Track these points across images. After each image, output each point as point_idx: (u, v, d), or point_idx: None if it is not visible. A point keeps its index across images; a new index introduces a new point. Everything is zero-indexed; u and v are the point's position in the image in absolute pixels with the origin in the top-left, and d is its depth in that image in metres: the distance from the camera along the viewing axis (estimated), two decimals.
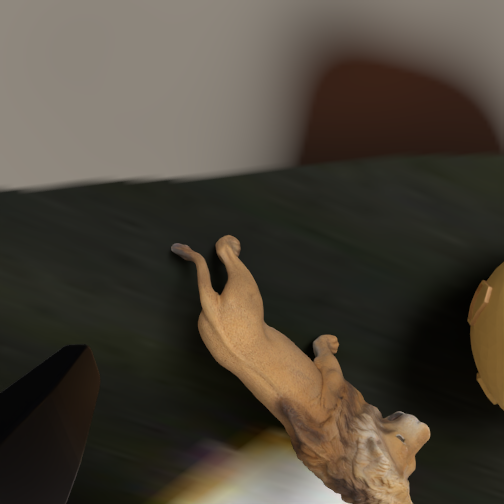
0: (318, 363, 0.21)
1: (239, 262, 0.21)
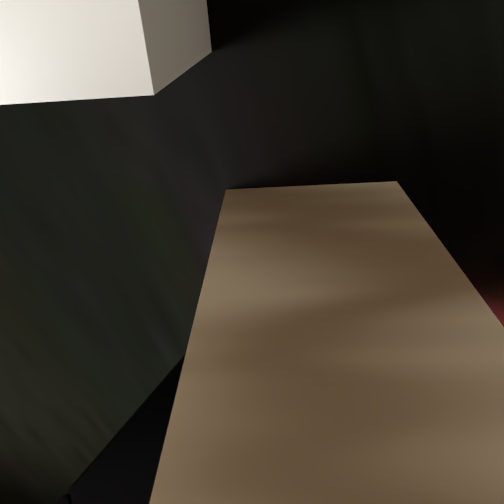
0: None
1: None
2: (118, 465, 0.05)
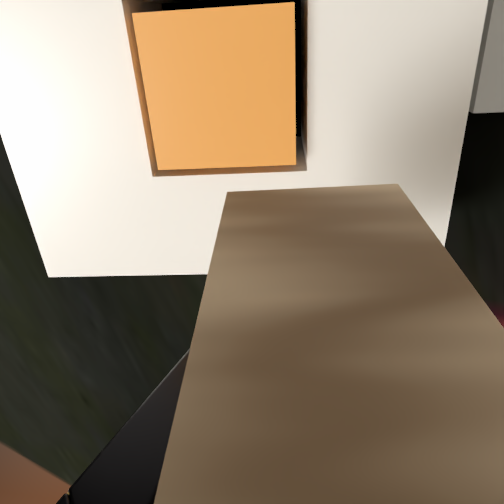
0: None
1: None
2: (118, 465, 0.05)
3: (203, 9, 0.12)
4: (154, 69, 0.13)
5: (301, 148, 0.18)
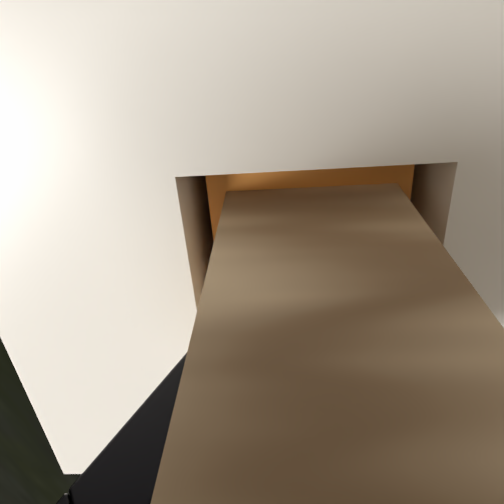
0: None
1: None
2: (118, 465, 0.05)
3: None
4: None
5: None
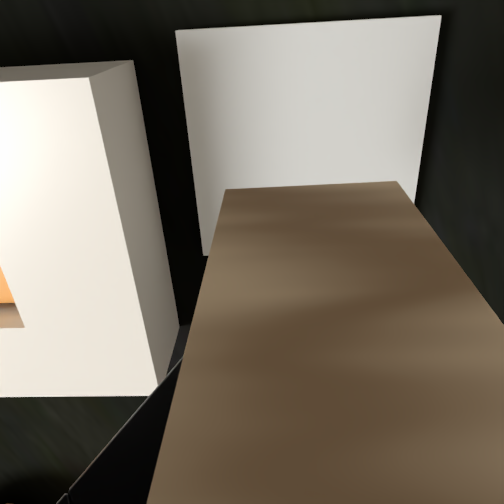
0: None
1: None
2: (118, 465, 0.05)
3: None
4: None
5: None
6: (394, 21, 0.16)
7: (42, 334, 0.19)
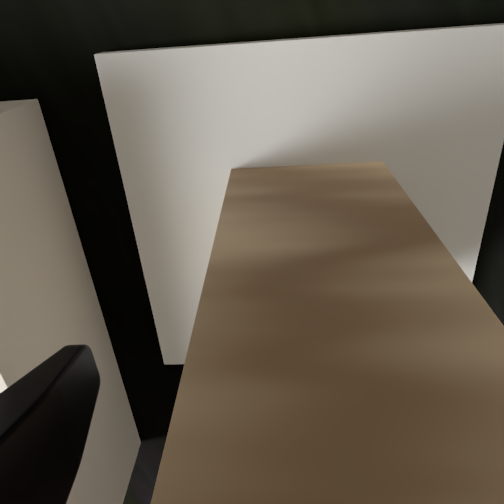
0: None
1: None
2: None
3: None
4: None
5: None
6: (450, 34, 0.10)
7: None
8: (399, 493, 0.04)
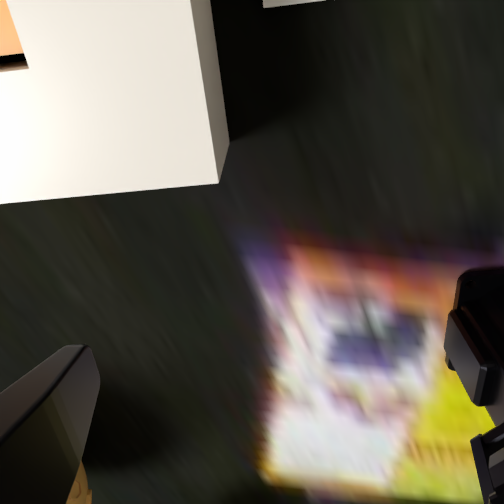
0: None
1: None
2: None
3: None
4: None
5: None
6: None
7: (54, 79, 0.13)
8: None
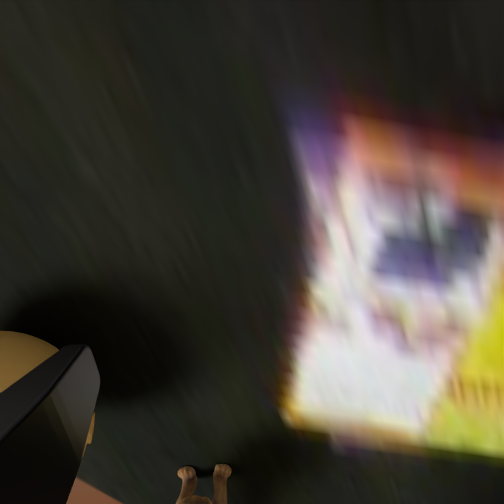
0: None
1: None
2: None
3: None
4: None
5: None
6: None
7: None
8: None
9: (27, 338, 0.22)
